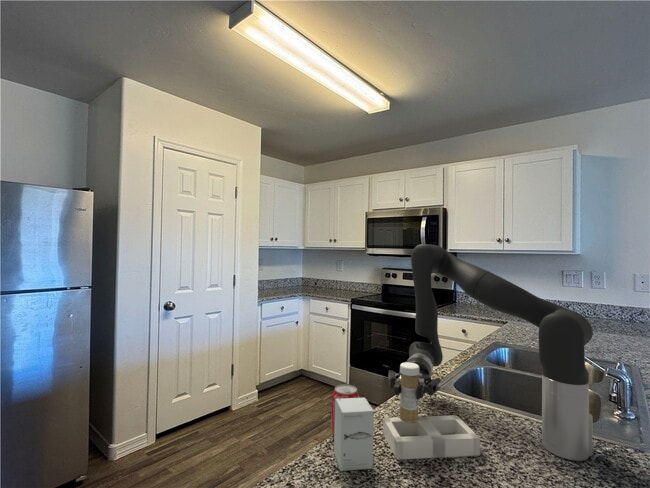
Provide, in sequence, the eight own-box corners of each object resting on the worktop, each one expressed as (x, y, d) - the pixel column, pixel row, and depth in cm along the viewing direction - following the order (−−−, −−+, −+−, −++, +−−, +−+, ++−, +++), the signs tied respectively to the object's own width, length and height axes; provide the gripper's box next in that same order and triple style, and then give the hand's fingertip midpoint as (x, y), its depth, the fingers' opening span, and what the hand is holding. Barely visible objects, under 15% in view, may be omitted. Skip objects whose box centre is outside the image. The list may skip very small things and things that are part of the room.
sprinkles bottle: (405, 413, 86) (406, 360, 86) (422, 419, 83) (422, 364, 83) (395, 419, 83) (396, 364, 83) (412, 426, 80) (413, 369, 80)
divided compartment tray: (456, 430, 90) (456, 415, 90) (479, 455, 79) (480, 438, 79) (382, 433, 87) (383, 418, 88) (396, 459, 77) (396, 441, 77)
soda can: (352, 427, 90) (353, 382, 91) (363, 441, 84) (364, 392, 84) (327, 431, 88) (328, 384, 88) (336, 446, 81) (337, 395, 82)
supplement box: (339, 472, 72) (340, 412, 72) (333, 452, 79) (334, 397, 79) (373, 469, 73) (374, 410, 73) (364, 449, 80) (365, 396, 80)
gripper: (393, 353, 99) (378, 372, 83) (444, 360, 93) (439, 383, 78) (392, 378, 99) (377, 403, 83) (444, 388, 93) (438, 415, 78)
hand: (407, 393), depth 81 cm, fingers closed on sprinkles bottle, 4 cm apart
